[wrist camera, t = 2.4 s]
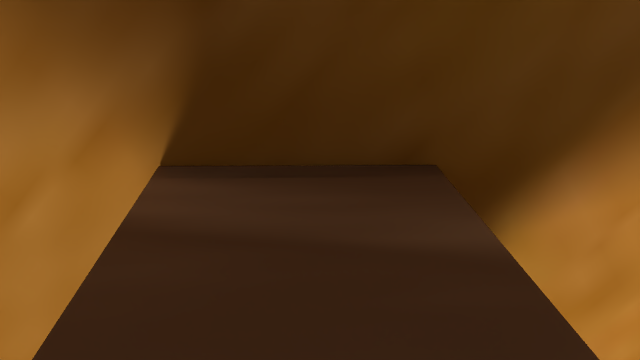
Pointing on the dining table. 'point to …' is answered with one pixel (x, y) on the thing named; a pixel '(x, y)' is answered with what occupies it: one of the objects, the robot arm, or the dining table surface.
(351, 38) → the dining table surface
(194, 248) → the walnut crate
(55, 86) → the dining table surface
